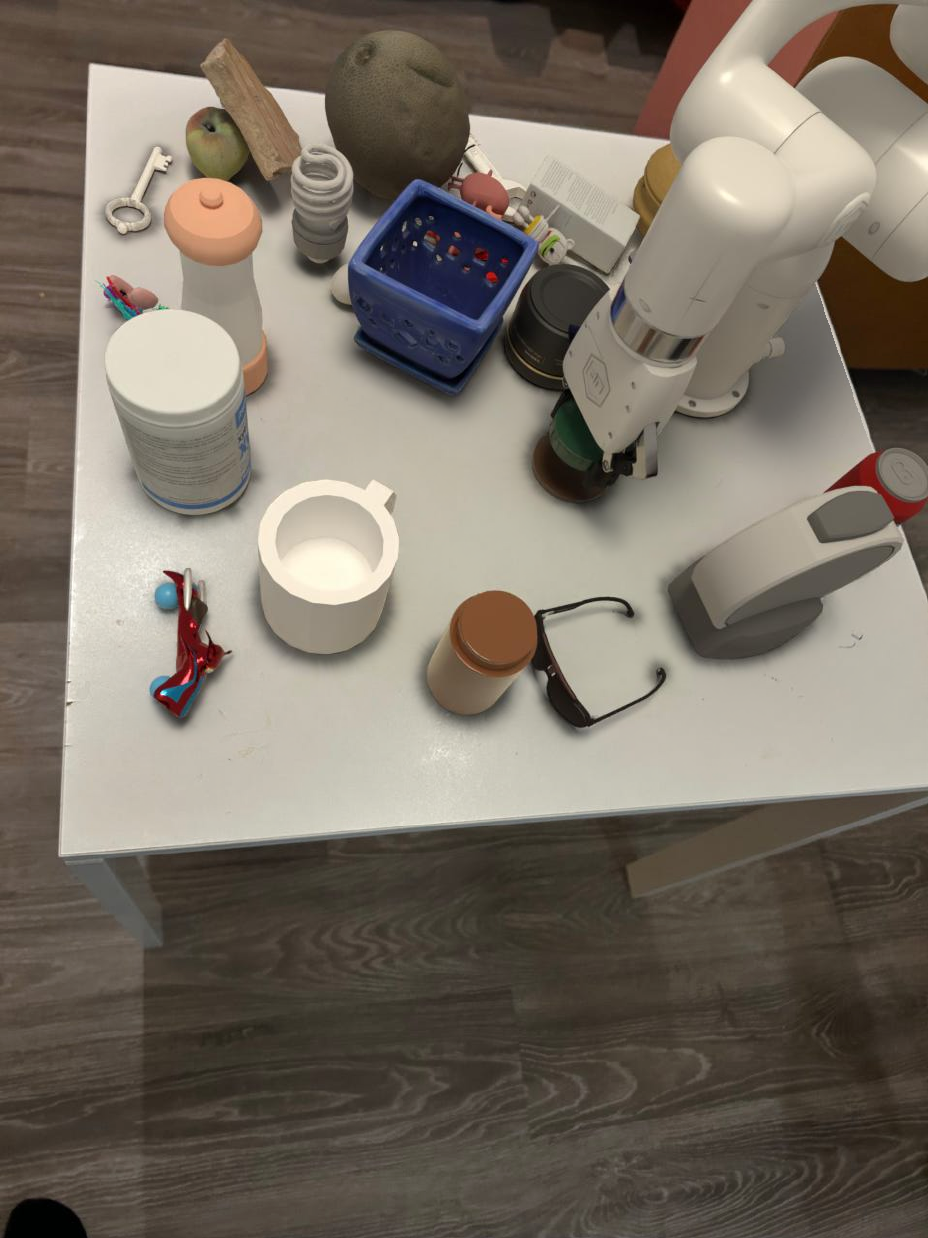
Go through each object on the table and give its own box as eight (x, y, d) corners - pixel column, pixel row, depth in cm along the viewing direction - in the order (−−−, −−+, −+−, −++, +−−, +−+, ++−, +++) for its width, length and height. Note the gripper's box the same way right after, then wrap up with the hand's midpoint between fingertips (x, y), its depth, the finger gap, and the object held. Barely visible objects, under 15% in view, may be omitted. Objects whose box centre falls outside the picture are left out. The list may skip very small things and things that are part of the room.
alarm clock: (781, 538, 81) (908, 433, 65) (829, 631, 78) (975, 545, 62) (643, 577, 76) (742, 473, 60) (689, 677, 74) (807, 597, 57)
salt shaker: (282, 380, 76) (282, 212, 59) (210, 410, 74) (188, 242, 56) (243, 323, 78) (231, 142, 60) (171, 350, 75) (137, 169, 58)
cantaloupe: (292, 135, 75) (407, 250, 84) (400, 3, 69) (511, 143, 79) (288, 92, 85) (392, 200, 94) (383, -27, 79) (483, 101, 88)
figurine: (418, 261, 87) (481, 277, 85) (414, 236, 83) (479, 252, 82) (460, 180, 90) (521, 194, 89) (458, 153, 87) (521, 167, 86)
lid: (564, 478, 73) (570, 467, 71) (538, 412, 75) (544, 400, 73) (632, 465, 75) (640, 454, 73) (605, 402, 77) (612, 389, 75)
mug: (324, 495, 73) (331, 426, 63) (423, 553, 73) (445, 492, 63) (236, 613, 67) (228, 557, 58) (343, 677, 67) (353, 630, 57)
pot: (648, 281, 91) (689, 206, 82) (604, 201, 94) (639, 121, 85) (733, 266, 94) (781, 193, 85) (688, 190, 98) (730, 112, 89)
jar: (568, 241, 80) (545, 298, 87) (501, 287, 76) (482, 343, 83) (643, 308, 79) (614, 360, 86) (578, 358, 75) (553, 408, 82)
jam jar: (486, 631, 71) (523, 573, 60) (514, 701, 69) (558, 654, 58) (415, 653, 69) (440, 597, 58) (442, 725, 67) (474, 681, 56)
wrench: (538, 216, 91) (544, 201, 89) (500, 229, 89) (505, 214, 88) (421, 63, 96) (423, 47, 95) (382, 72, 94) (384, 56, 93)
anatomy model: (55, 283, 69) (90, 335, 75) (130, 325, 68) (159, 374, 74) (95, 241, 70) (126, 295, 77) (169, 281, 69) (194, 333, 75)
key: (142, 233, 78) (96, 221, 78) (143, 241, 79) (98, 229, 79) (179, 149, 83) (136, 137, 83) (180, 157, 84) (138, 146, 83)
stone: (300, 175, 89) (318, 160, 88) (267, 185, 79) (287, 169, 78) (221, 54, 84) (239, 37, 83) (175, 48, 74) (195, 29, 73)
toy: (486, 126, 79) (591, 239, 85) (484, 123, 81) (586, 233, 88) (440, 183, 81) (545, 289, 88) (440, 178, 84) (542, 282, 90)
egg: (333, 317, 80) (348, 308, 83) (384, 293, 78) (397, 284, 81) (314, 279, 79) (330, 271, 82) (365, 252, 76) (380, 245, 79)
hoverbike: (131, 712, 59) (204, 701, 58) (140, 565, 64) (208, 553, 63) (166, 730, 64) (235, 720, 63) (172, 592, 68) (236, 580, 68)
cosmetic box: (513, 214, 88) (606, 275, 90) (529, 181, 84) (626, 246, 86) (532, 184, 91) (622, 244, 92) (549, 151, 87) (642, 214, 89)
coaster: (590, 425, 82) (592, 421, 81) (623, 492, 80) (625, 489, 79) (519, 440, 79) (520, 437, 79) (550, 511, 77) (552, 508, 77)
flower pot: (397, 269, 84) (414, 168, 73) (511, 329, 84) (545, 237, 73) (334, 356, 78) (343, 261, 68) (457, 420, 79) (485, 336, 68)
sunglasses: (505, 632, 71) (527, 608, 67) (612, 598, 77) (639, 574, 72) (557, 743, 69) (584, 726, 64) (664, 700, 74) (695, 681, 70)
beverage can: (818, 575, 81) (902, 517, 70) (781, 519, 82) (857, 453, 71) (866, 553, 83) (955, 493, 72) (829, 498, 85) (910, 431, 74)
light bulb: (357, 259, 84) (368, 155, 73) (324, 291, 81) (331, 189, 70) (312, 229, 84) (316, 122, 73) (278, 260, 82) (277, 153, 71)
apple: (258, 148, 86) (257, 95, 81) (241, 202, 83) (238, 150, 78) (201, 132, 85) (195, 78, 80) (181, 186, 82) (174, 133, 77)
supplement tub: (271, 492, 72) (268, 387, 59) (168, 536, 68) (141, 436, 55) (218, 408, 74) (204, 289, 61) (116, 447, 71) (77, 330, 57)
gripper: (572, 230, 62) (510, 380, 78) (670, 419, 57) (582, 538, 73) (655, 219, 64) (579, 368, 80) (756, 400, 59) (653, 519, 75)
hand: (581, 448), depth 76 cm, fingers closed on lid, 6 cm apart
